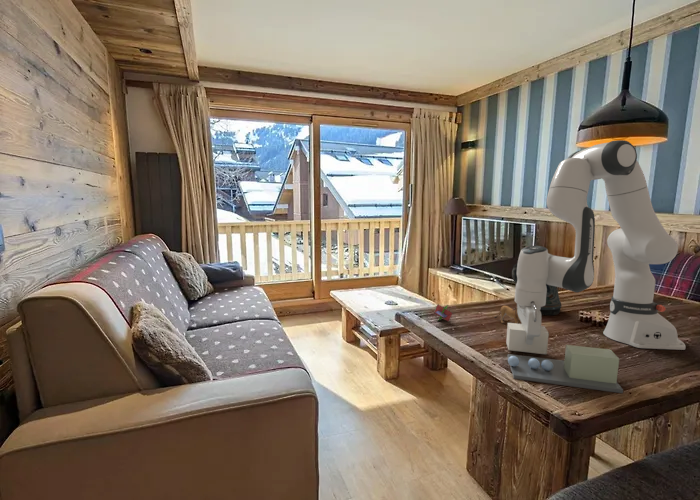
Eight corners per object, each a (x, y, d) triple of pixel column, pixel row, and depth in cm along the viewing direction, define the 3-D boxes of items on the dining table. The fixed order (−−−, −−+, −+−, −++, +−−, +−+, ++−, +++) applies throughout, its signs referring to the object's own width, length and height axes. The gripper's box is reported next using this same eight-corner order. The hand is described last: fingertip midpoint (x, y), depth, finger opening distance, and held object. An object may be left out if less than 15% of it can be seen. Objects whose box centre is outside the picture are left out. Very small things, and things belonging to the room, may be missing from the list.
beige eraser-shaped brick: (542, 346, 119) (544, 326, 117) (546, 354, 113) (548, 333, 112) (506, 342, 122) (507, 322, 121) (508, 350, 116) (510, 329, 115)
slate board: (602, 368, 107) (603, 365, 107) (622, 393, 94) (623, 389, 94) (507, 356, 114) (507, 353, 114) (513, 378, 101) (513, 375, 101)
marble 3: (550, 368, 105) (553, 359, 104) (552, 374, 102) (555, 364, 102) (539, 365, 106) (542, 356, 105) (541, 370, 103) (544, 361, 102)
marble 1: (518, 354, 107) (507, 353, 107) (521, 360, 104) (509, 358, 105) (516, 363, 108) (506, 362, 108) (519, 369, 105) (508, 367, 105)
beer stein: (569, 314, 154) (575, 256, 151) (529, 317, 150) (534, 258, 147) (541, 303, 170) (546, 250, 166) (505, 305, 166) (509, 251, 162)
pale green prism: (607, 373, 102) (610, 349, 101) (616, 383, 97) (619, 358, 96) (563, 367, 105) (566, 344, 104) (569, 377, 100) (572, 353, 99)
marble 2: (538, 366, 106) (539, 356, 105) (540, 371, 103) (541, 362, 103) (526, 364, 107) (527, 355, 106) (528, 370, 104) (529, 360, 103)
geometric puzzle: (458, 315, 146) (448, 298, 148) (452, 320, 141) (441, 302, 143) (444, 323, 150) (434, 306, 152) (438, 327, 145) (427, 310, 147)
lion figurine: (532, 328, 139) (534, 305, 137) (525, 331, 136) (527, 308, 134) (497, 317, 150) (498, 296, 149) (490, 320, 147) (491, 298, 146)
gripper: (548, 308, 104) (544, 354, 106) (534, 290, 123) (531, 329, 125) (524, 306, 106) (521, 351, 108) (514, 288, 125) (511, 327, 127)
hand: (526, 339), depth 117 cm, fingers closed on beige eraser-shaped brick, 6 cm apart
